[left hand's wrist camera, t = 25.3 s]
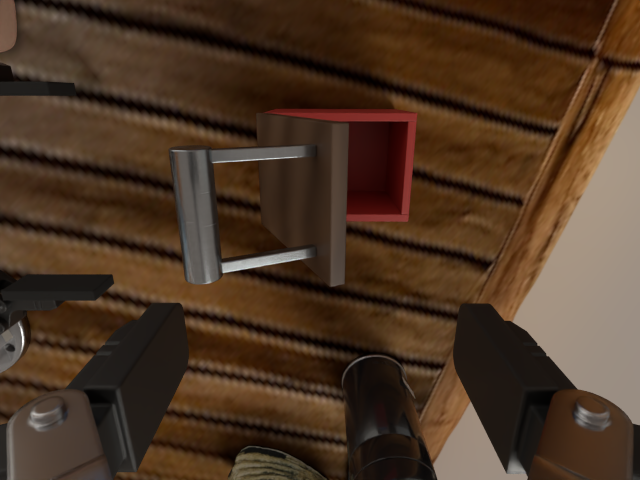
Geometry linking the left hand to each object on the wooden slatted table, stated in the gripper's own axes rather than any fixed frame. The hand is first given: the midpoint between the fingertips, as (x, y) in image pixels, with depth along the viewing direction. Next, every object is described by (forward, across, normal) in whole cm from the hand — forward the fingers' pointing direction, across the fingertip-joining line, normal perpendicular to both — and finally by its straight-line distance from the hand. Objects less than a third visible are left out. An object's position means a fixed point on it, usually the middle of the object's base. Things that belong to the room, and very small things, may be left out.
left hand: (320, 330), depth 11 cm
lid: (+20, +1, 0) cm, 20 cm away
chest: (+37, -2, 0) cm, 37 cm away
